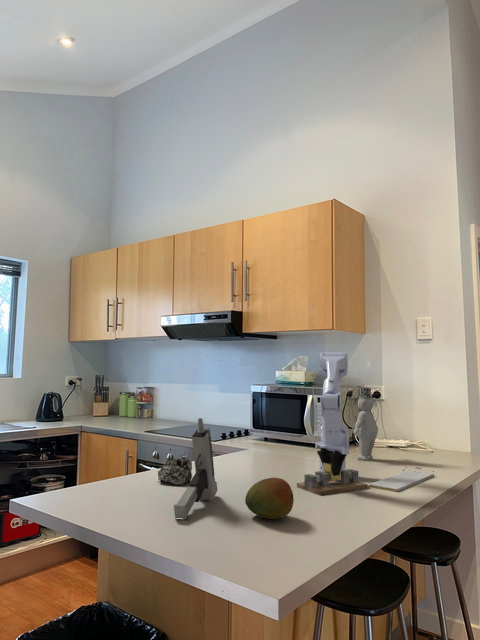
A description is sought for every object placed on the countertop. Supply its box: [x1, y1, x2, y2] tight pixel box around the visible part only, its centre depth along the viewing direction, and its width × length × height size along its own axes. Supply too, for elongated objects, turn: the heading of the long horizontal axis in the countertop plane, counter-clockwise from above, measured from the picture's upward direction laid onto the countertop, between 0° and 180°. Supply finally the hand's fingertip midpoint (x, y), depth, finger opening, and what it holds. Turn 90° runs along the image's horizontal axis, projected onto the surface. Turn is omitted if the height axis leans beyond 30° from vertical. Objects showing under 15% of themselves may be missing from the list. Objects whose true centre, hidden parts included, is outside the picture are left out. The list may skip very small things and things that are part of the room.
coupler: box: [323, 462, 341, 481], centre depth 155 cm, size 4×4×5 cm
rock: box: [157, 456, 193, 486], centre depth 161 cm, size 13×10×10 cm
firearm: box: [173, 417, 218, 519], centre depth 131 cm, size 4×24×25 cm
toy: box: [353, 387, 379, 462], centre depth 205 cm, size 18×9×30 cm, turn 136°
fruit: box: [245, 477, 294, 520], centre depth 122 cm, size 12×12×10 cm
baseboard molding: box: [368, 466, 435, 493], centre depth 164 cm, size 31×3×12 cm
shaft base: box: [296, 468, 369, 496], centre depth 154 cm, size 12×19×5 cm, turn 119°
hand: (331, 474), depth 154 cm, fingers closed on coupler, 4 cm apart
